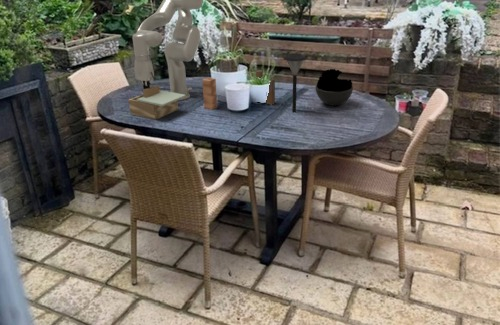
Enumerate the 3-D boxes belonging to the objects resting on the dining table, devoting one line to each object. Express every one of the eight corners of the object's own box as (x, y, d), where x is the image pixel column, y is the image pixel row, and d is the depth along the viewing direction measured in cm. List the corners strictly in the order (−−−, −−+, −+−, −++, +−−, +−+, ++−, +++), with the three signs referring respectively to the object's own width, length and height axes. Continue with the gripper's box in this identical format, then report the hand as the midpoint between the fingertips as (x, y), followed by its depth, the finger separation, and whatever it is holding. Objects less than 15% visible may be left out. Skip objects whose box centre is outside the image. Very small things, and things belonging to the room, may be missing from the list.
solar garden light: (310, 112, 234) (312, 55, 221) (291, 117, 229) (292, 58, 216) (296, 106, 244) (297, 51, 231) (278, 111, 238) (278, 54, 225)
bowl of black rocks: (337, 96, 257) (339, 64, 249) (359, 106, 241) (362, 72, 233) (307, 102, 250) (308, 69, 242) (328, 113, 234) (330, 77, 225)
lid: (161, 91, 247) (160, 82, 245) (186, 96, 238) (185, 87, 236) (137, 100, 233) (135, 91, 231) (162, 106, 224) (161, 96, 222)
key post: (210, 105, 249) (208, 77, 242) (217, 107, 246) (215, 78, 239) (204, 108, 245) (202, 79, 238) (211, 109, 243) (209, 81, 236)
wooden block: (272, 105, 247) (272, 73, 239) (255, 102, 252) (254, 71, 244) (275, 103, 250) (275, 71, 242) (258, 100, 254) (257, 69, 247)
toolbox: (154, 104, 254) (152, 90, 250) (178, 109, 245) (176, 95, 241) (130, 114, 240) (128, 99, 237) (155, 119, 231) (153, 105, 228)
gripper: (127, 58, 233) (132, 92, 241) (147, 61, 225) (152, 96, 233) (138, 55, 238) (142, 88, 246) (158, 58, 231) (162, 92, 239)
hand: (147, 92), depth 240 cm, fingers closed
